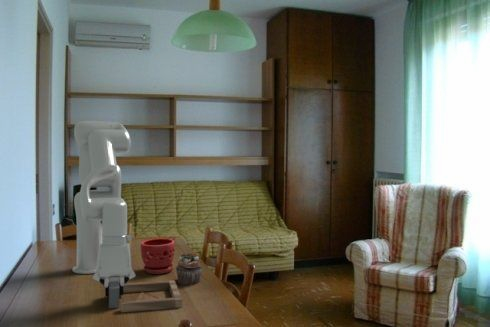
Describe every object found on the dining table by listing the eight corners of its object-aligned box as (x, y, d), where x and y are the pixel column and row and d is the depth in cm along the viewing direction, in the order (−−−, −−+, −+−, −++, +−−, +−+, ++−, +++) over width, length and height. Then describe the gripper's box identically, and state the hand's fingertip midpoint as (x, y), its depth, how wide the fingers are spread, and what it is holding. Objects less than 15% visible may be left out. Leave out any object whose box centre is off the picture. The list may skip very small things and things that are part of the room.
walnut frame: (120, 291, 149) (120, 283, 149) (174, 287, 154) (174, 280, 154) (121, 312, 130) (121, 304, 130) (182, 307, 135) (182, 299, 135)
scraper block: (109, 295, 144) (109, 277, 144) (119, 295, 145) (119, 277, 145) (108, 308, 133) (109, 288, 133) (119, 307, 134) (119, 288, 133)
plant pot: (156, 265, 183) (156, 236, 183) (181, 270, 176) (181, 240, 176) (133, 272, 172) (133, 242, 171) (159, 278, 165) (159, 246, 165)
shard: (142, 296, 146) (142, 290, 146) (165, 296, 146) (165, 291, 146) (133, 307, 135) (133, 301, 135) (158, 308, 135) (158, 302, 135)
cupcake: (207, 281, 162) (207, 254, 162) (187, 287, 155) (187, 258, 154) (190, 276, 168) (190, 250, 168) (170, 281, 161) (170, 254, 161)
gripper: (140, 236, 144) (140, 292, 145) (88, 238, 140) (87, 296, 141) (141, 241, 137) (141, 300, 138) (86, 244, 133) (86, 304, 133)
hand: (114, 297), depth 139 cm, fingers closed on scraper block, 2 cm apart
